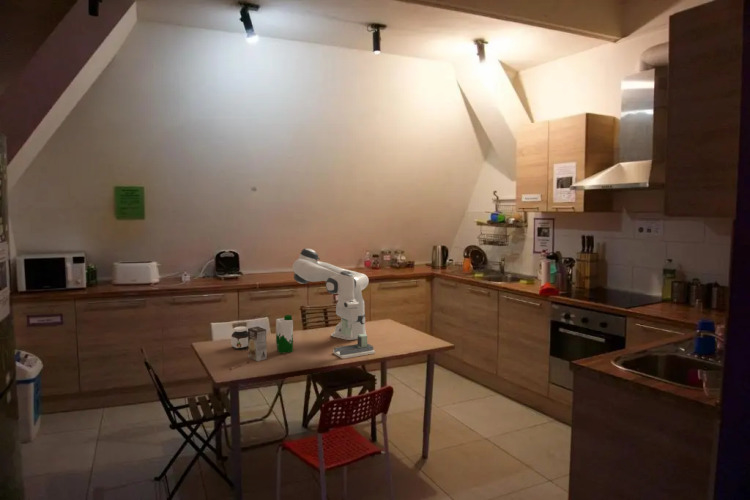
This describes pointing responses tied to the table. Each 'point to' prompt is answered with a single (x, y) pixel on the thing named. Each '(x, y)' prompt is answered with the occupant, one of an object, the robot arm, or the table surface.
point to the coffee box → (257, 343)
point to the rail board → (355, 348)
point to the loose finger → (345, 328)
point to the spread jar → (239, 338)
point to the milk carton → (284, 334)
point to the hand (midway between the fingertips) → (346, 326)
